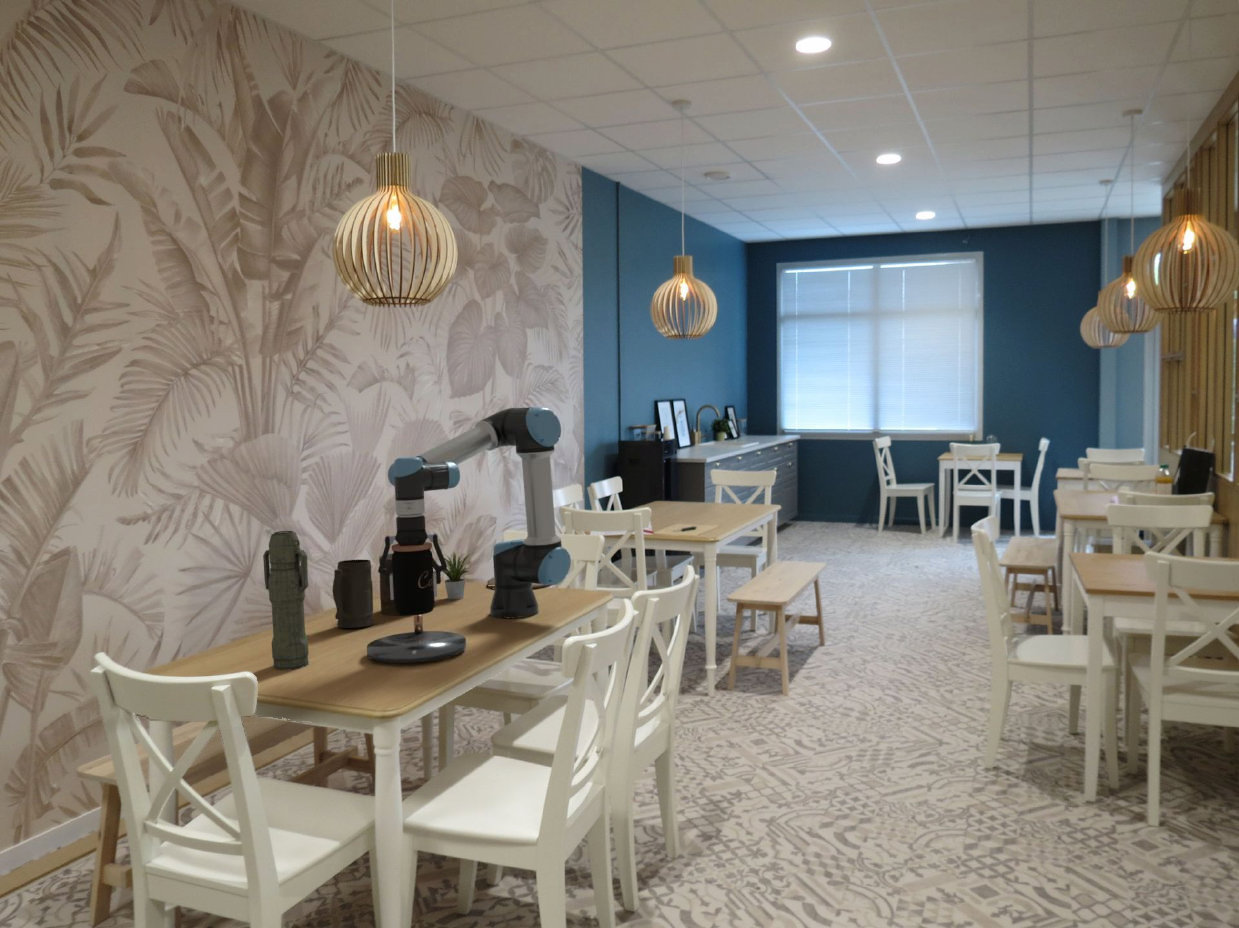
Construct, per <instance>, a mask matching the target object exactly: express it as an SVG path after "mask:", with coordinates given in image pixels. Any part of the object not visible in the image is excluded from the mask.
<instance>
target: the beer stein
mask: <svg viewBox="0 0 1239 928" xmlns="http://www.w3.org/2000/svg"><path fill="white" fill-rule="evenodd" d="M336 568H337V569H336ZM336 568H335V570H334V571H333V572H334V574H333V575H334V576H333V583H332V597H333V601H334V604H335V607H336V613H335V615H334V619H335V620H337V624H336V626H337V627H338V628H346V629H348V628H349V629H351V628H364V627H370V626H373V625H374V617H373V614H374V596H373V595H374V593H373V591H374V589H373V588H374V587H373V580H372V562H371V559H346V560H341V561H338V563H337V567H336Z"/></svg>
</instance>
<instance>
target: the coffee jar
mask: <svg viewBox="0 0 1239 928" xmlns="http://www.w3.org/2000/svg"><path fill="white" fill-rule="evenodd" d="M432 544H433V542H430V541H429V542H428V541H425V543H424V544H423V545H408V546H400V545H399V544H398V543H395V544H391V551H392V552H393V553H391V554H392V569H393V589H394V609H395V611H396V612H397V613H398V614H400V615H399V616H414V615H421V614H422V615H425V614H430V613H431V612H433V610H434V609H435V606H436V605H435V604H436V602H435V601H436V599H435V597H434V583H433V571H434V568H433V566H432V558H434V556H433V552H432V551H431V549H432V548H433V545H432Z"/></svg>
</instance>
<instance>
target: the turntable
mask: <svg viewBox="0 0 1239 928" xmlns="http://www.w3.org/2000/svg"><path fill="white" fill-rule="evenodd" d="M423 623H424V622H423V614H421V615H413V630H414V631H410V632H402V633H397V634H391V635H386V636H382V637H380V638H377V639H375V640H372V641H371V642H369V643H368V644H367V645H366V656H367V657H368V658H369V659H370V660H373V661H377V662H381V663H389V664H390V663H391V664H392V663H394V664H404V663H405V664H409V663H412V664H413V663H420V662H422V663H423V662H430V661H436V660H441V659H446V658H448V657H453V656H454V655H458V654H460V653H462V652H463V651H464V650H465V649H466V647H467V639H466V638H467V637H465V636H464V635H462V634H461V633H458V632H452V631H443V630H442V631H441V630H440V631H439V630H425V631H424V624H423Z"/></svg>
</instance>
